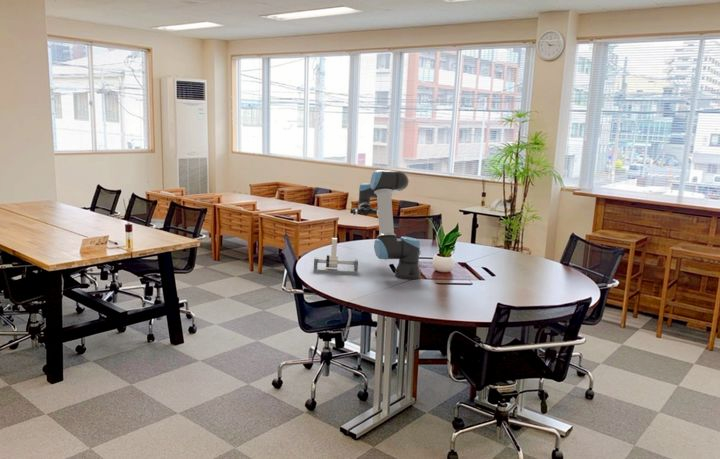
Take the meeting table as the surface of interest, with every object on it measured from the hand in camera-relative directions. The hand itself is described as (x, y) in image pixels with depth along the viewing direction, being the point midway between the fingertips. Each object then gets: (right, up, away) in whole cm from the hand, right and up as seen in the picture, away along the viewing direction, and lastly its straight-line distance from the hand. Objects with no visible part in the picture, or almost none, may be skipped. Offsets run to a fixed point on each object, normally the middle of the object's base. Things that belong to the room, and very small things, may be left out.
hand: (367, 213), depth 361 cm
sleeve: (-21, -32, -12) cm, 40 cm away
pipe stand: (-19, -35, -12) cm, 41 cm away
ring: (-24, -32, -12) cm, 42 cm away
